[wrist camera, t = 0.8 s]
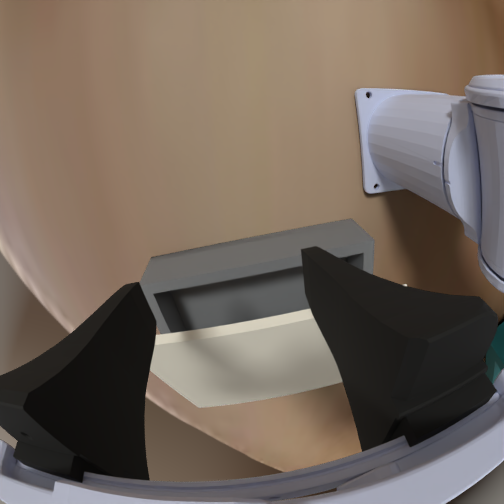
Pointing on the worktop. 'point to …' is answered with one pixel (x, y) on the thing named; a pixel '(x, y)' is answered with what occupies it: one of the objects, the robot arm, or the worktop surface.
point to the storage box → (245, 276)
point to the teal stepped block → (495, 354)
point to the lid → (246, 360)
